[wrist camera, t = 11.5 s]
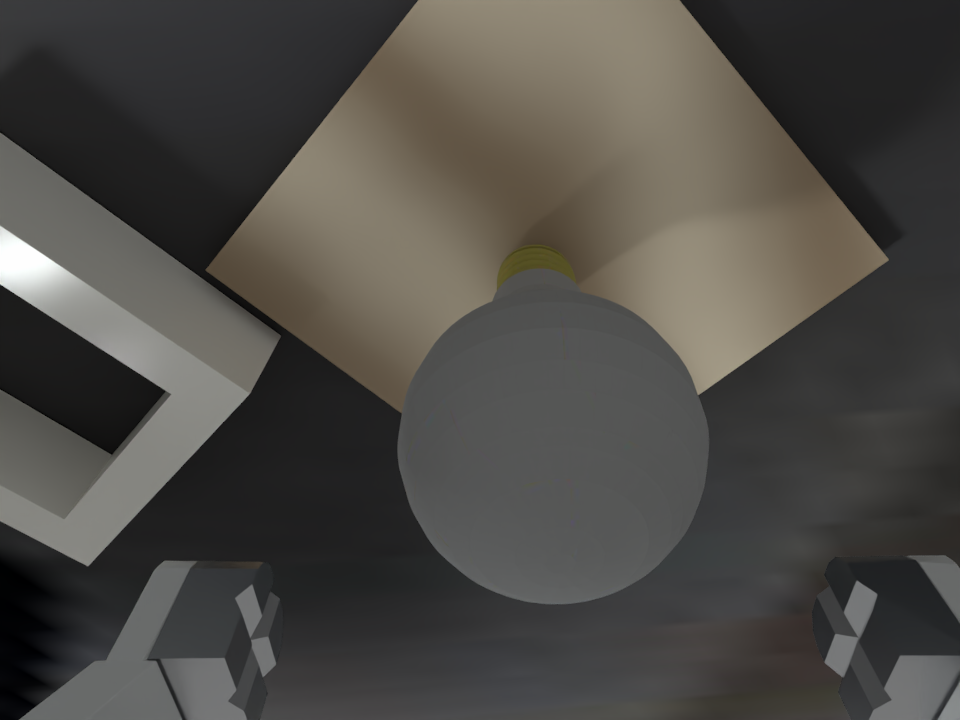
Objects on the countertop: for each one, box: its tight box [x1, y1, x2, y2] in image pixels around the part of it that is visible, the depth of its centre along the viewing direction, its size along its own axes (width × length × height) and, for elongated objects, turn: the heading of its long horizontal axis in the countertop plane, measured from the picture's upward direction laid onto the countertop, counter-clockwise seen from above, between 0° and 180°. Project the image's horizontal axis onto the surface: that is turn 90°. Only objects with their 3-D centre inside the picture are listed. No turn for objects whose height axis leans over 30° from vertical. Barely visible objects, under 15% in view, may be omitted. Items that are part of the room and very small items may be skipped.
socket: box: [0, 133, 281, 566], centre depth 20 cm, size 10×10×3 cm
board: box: [206, 0, 889, 413], centre depth 19 cm, size 13×13×1 cm
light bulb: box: [398, 244, 709, 604], centre depth 14 cm, size 6×6×10 cm
